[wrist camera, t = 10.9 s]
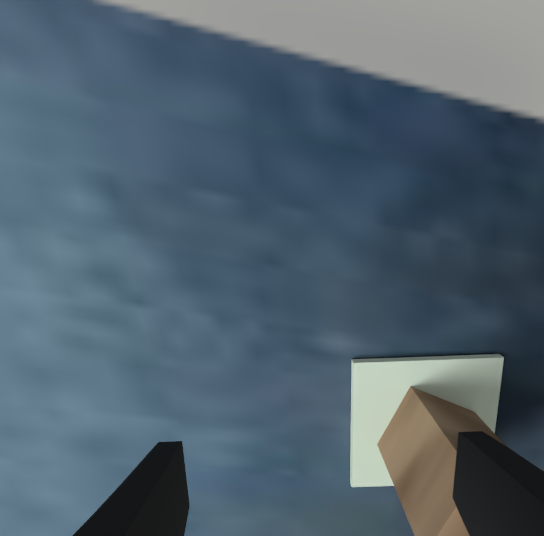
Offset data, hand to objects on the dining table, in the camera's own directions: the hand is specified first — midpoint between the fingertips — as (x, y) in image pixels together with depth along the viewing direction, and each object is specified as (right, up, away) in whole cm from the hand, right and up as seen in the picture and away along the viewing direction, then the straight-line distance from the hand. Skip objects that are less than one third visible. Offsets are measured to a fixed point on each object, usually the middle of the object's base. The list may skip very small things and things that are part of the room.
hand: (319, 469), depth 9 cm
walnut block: (+7, -4, +10) cm, 13 cm away
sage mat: (+7, -3, +10) cm, 13 cm away
